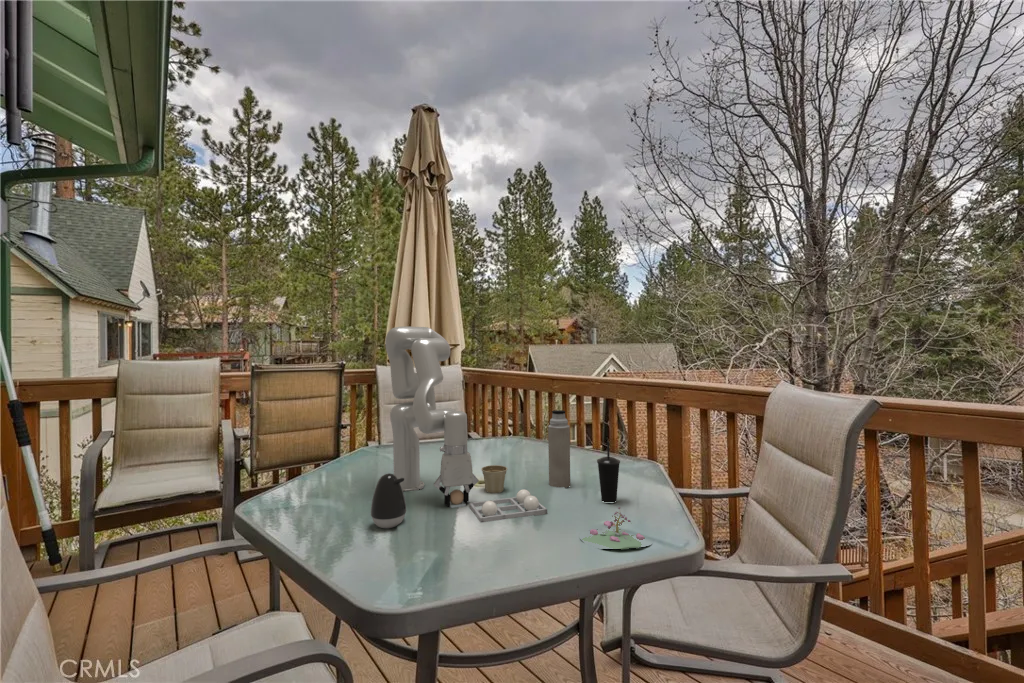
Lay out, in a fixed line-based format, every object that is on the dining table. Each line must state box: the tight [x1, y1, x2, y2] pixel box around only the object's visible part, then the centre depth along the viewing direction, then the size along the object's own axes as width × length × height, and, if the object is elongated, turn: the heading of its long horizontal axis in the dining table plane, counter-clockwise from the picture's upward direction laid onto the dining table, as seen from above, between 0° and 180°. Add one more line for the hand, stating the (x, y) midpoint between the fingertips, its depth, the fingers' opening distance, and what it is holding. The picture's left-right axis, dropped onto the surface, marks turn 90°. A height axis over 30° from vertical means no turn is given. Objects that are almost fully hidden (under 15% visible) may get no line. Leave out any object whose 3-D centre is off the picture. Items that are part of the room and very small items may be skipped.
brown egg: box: [449, 488, 464, 505], centre depth 154 cm, size 5×5×5 cm
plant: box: [582, 506, 645, 550], centre depth 132 cm, size 25×21×9 cm
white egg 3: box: [524, 495, 540, 511], centre depth 147 cm, size 5×5×5 cm
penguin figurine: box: [370, 473, 407, 529], centre depth 139 cm, size 10×10×15 cm
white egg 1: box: [481, 500, 498, 517], centre depth 143 cm, size 5×5×5 cm
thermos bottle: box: [547, 409, 571, 489], centre depth 176 cm, size 8×8×28 cm
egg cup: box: [449, 501, 467, 509], centre depth 154 cm, size 6×6×1 cm
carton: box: [468, 496, 548, 523], centre depth 148 cm, size 21×14×2 cm
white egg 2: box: [515, 488, 532, 504], centre depth 154 cm, size 5×5×5 cm
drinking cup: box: [596, 441, 621, 502], centre depth 157 cm, size 8×8×20 cm
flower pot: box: [480, 464, 508, 494], centre depth 169 cm, size 9×9×9 cm
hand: (456, 504), depth 154 cm, fingers closed on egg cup, 5 cm apart
